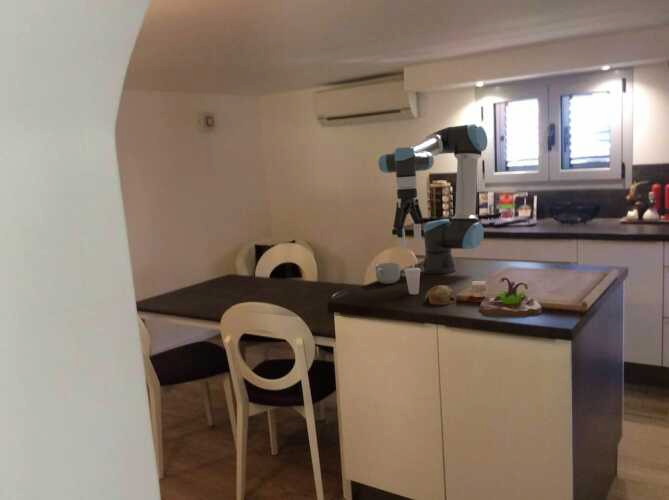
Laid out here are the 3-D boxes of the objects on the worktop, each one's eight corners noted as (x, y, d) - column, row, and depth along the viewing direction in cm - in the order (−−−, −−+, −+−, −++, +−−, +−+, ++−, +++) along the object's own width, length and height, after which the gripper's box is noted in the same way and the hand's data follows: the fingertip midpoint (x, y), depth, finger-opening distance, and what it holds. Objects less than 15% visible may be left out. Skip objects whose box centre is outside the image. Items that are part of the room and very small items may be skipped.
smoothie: (421, 294, 232) (419, 259, 230) (405, 295, 234) (402, 260, 232) (422, 291, 239) (420, 256, 236) (406, 291, 240) (404, 257, 238)
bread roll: (444, 315, 214) (452, 296, 211) (419, 302, 218) (426, 283, 216) (454, 308, 222) (462, 290, 220) (430, 295, 227) (437, 277, 224)
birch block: (473, 294, 226) (472, 281, 226) (487, 294, 225) (486, 281, 224) (472, 297, 222) (471, 284, 221) (486, 297, 220) (485, 284, 219)
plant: (481, 302, 215) (480, 271, 213) (539, 302, 209) (538, 270, 207) (479, 318, 196) (477, 284, 194) (542, 318, 190) (541, 283, 188)
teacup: (387, 278, 267) (386, 261, 266) (406, 281, 260) (405, 262, 258) (366, 285, 258) (364, 267, 257) (385, 287, 250) (384, 268, 249)
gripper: (412, 186, 242) (415, 238, 245) (382, 191, 222) (385, 248, 225) (429, 185, 238) (432, 238, 241) (400, 190, 218) (403, 248, 221)
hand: (410, 243), depth 233 cm, fingers open, 13 cm apart
